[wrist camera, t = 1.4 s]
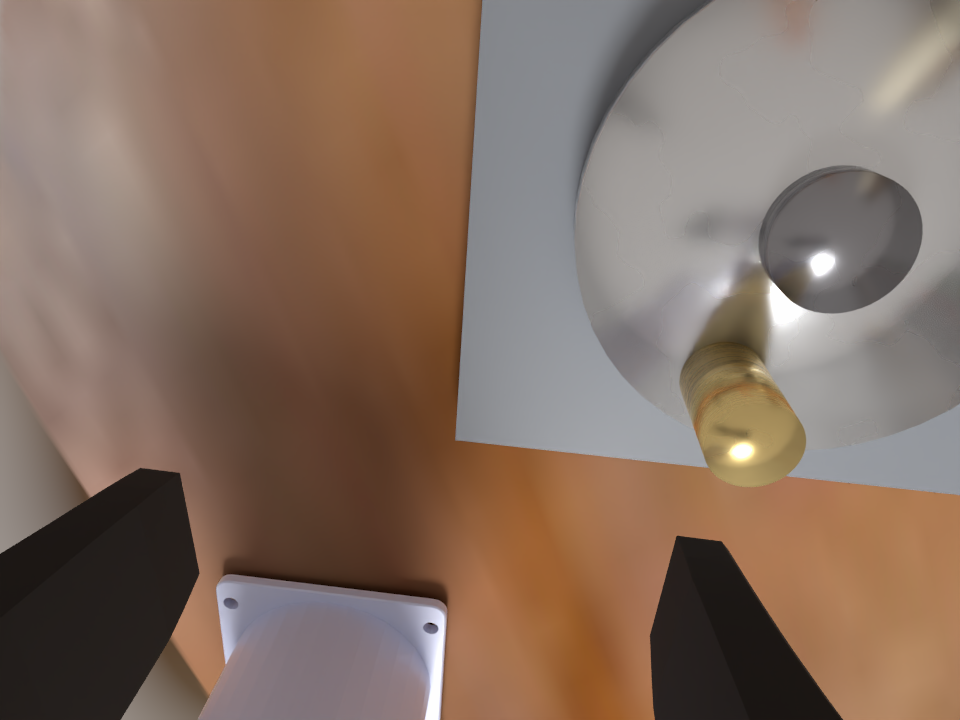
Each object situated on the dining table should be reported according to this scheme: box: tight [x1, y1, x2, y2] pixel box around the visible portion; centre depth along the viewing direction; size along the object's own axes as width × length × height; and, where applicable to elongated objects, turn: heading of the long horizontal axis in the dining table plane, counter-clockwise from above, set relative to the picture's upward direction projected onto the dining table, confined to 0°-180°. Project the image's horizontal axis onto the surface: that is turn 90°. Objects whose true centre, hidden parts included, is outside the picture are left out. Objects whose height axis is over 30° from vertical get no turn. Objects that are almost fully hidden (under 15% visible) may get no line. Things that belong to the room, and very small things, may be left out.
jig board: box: [455, 0, 960, 495], centre depth 15 cm, size 14×16×5 cm
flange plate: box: [574, 0, 960, 487], centre depth 14 cm, size 11×13×4 cm
